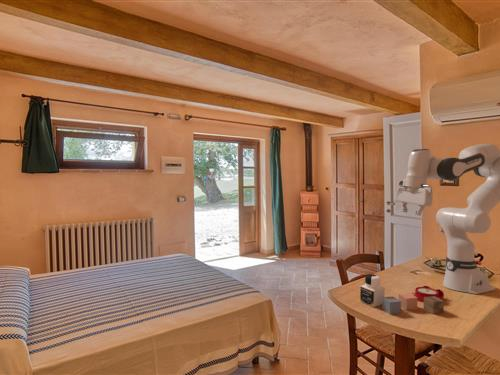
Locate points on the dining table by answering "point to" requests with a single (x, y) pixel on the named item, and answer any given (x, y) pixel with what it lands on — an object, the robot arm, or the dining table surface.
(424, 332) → the dining table surface
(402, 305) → the terracotta block
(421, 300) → the alarm clock
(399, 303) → the slate-grey block
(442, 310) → the walnut block
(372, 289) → the medicine bottle
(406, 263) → the dining table surface
